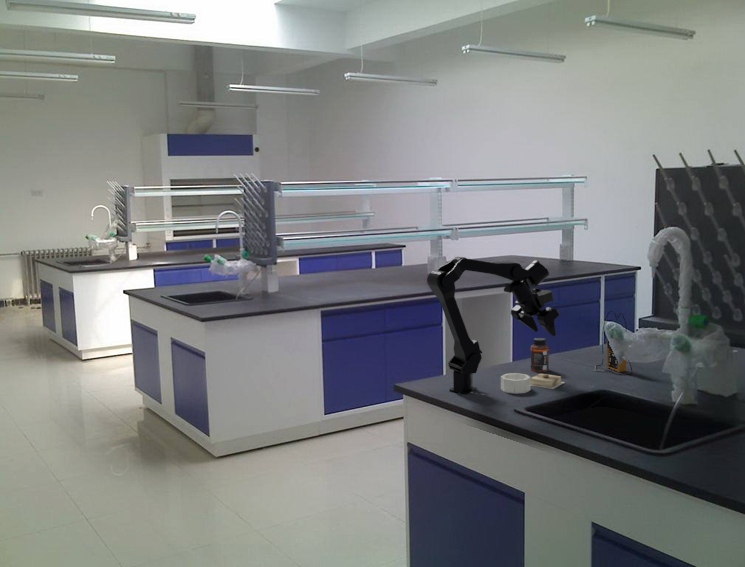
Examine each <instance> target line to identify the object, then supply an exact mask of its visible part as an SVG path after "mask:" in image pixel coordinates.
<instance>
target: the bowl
mask: <svg viewBox="0 0 745 567" xmlns="http://www.w3.org/2000/svg"><path fill="white" fill-rule="evenodd" d="M530 378H531V376H530V375H528V374H525V373H520V372H519V373H518V372H513V373H511V372H510V373H505V374H503V375H501V376H500V390H501V391H503V393H508V394H526V393H528V392H529V391H531V386H530Z"/></svg>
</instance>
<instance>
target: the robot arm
mask: <svg viewBox="0 0 745 567" xmlns="http://www.w3.org/2000/svg"><path fill="white" fill-rule="evenodd" d="M465 271H467V272H476V273H484V274H488V275H492V276H494V277H496V278H499V279H501V280H507V281H511V282H510V283H505V286H504V289H503V292H504V293H510V294H512V295H513V296H514V297H513V298H515V300H516V301H515V302H514V303H515V306H513V307H512V309H511V310H510V315H511V317H512V318H513V319H515V320H517V321H519V322H520V323H522V324H523V325H525V326H526V327H528V329H531V330H532V331H533V332H535V333H536V332H538V330H539V328H538V325H537V323H539V326H540V327H542V328H543V329H544V330H545V331H546V332H547V333H548V334H550V335H551V336H552V337H555V336H556V333H557V332H556V326H555V320H556V319H557V318H558V317H559V316H560V312H559V310H558V308H554V307H549V306H547V307H545V306H546V304H547V303H550V302H551V303H552V302H554V295H553V291H552V290H546V289H540V288H538V287H537V286H538V285H539V284H542V282H543V281H545V280H546V279H547V278H548V277H549V276H550V272H549V270H548V268H546V267H545V266H544V265H543V264H542V263H540V260H533V261H532V262H531V263H530V264H529V265H528V266H526V268H523V267H522V264H521V263H518V262H513V261H512V262H511V261H495V262H494V261H493V262H489V261H483V260H477V259H473V258H472V259H471V258H467V257H466V256H465V257H462V256H455V257H454V258H452V259H451V260H450V261H448V262H446V263H445V264H442V265H440V267H438V268H437V269H435V270H432V271H431V272H429V274H428V276H427V278H426V282H427V285H428V287H429V289H430V290H431V292H432V294H433V295H434V296H435V297H436V299H437V300H439V303H440V305H441V308H442V311H443V314H444V316H445V319H446V321H447V324H448V327H449V330H450V332H451V335H452V338H453V340H454V343H453V353H454V355H453V357H452V358H451V359H450V360H449V361H448V363H447V365H448V367H449V368H448V369H450V370H452V371H453V372H452V374H453V377H452V378H453V380H452V382H453V383H452V384H453V386H452V387H451V388H449V391H450V392H455V393H459V392H460V394H466V395H467V394H470V393H472V391H474V390H477V387H476V386H474V384H473V383H474V382H473V377H474V376H473V375H474V374H476V373H477V371H478V368H479V364H480V363H481V361H482V360H483V359H482V354H483V351H482V350H481V349H480V344H479V341H477V340H474V339H472V338H470V335H469V333H468V331H467V330H468V329H467V328H466V325H465V322H464V319H463V317H462V313H461V311H460V307H459V305H458V303H457V300H456V297H455V295H456V284H455V283H456V282H457V281H458V280H459V279H460V278H461V276H462V275H463V273H464V272H465ZM531 287H533V288H531ZM544 307H545V308H544ZM543 308H544V309H543ZM534 317H536V320H537V323H536V321H535V319H534Z"/></svg>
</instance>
